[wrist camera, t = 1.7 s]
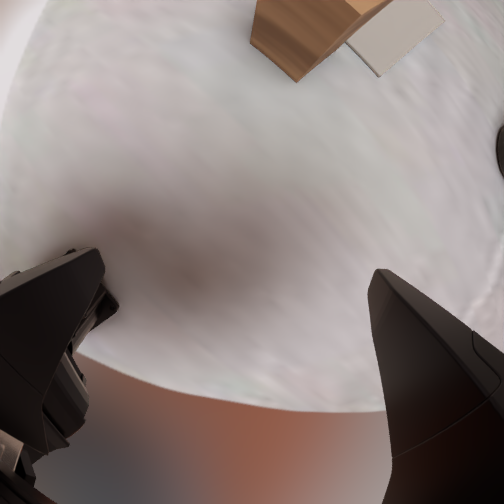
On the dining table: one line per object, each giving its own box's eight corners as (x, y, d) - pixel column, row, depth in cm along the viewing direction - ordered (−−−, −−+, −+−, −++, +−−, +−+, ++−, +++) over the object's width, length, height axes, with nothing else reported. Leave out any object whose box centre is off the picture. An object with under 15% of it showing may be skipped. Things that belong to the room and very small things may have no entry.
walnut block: (296, 82, 17) (363, 12, 6) (250, 43, 15) (267, -55, 5) (335, 50, 16) (417, -18, 5) (291, 12, 15) (337, -79, 4)
